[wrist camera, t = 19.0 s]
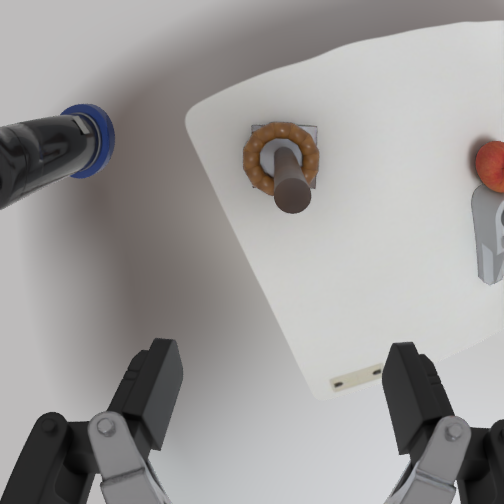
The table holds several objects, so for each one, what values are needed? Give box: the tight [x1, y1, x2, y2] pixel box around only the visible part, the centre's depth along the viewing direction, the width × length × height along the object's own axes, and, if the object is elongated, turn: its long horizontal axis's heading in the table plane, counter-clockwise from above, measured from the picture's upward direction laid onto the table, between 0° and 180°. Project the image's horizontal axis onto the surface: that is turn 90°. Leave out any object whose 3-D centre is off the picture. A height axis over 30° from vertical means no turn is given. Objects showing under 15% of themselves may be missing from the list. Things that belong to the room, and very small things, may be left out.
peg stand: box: [252, 125, 317, 214], centre depth 30 cm, size 8×8×20 cm
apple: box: [476, 141, 504, 193], centre depth 32 cm, size 7×7×8 cm
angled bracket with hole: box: [471, 184, 504, 285], centre depth 37 cm, size 6×18×8 cm, turn 26°
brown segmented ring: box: [243, 122, 319, 196], centre depth 37 cm, size 9×9×2 cm
